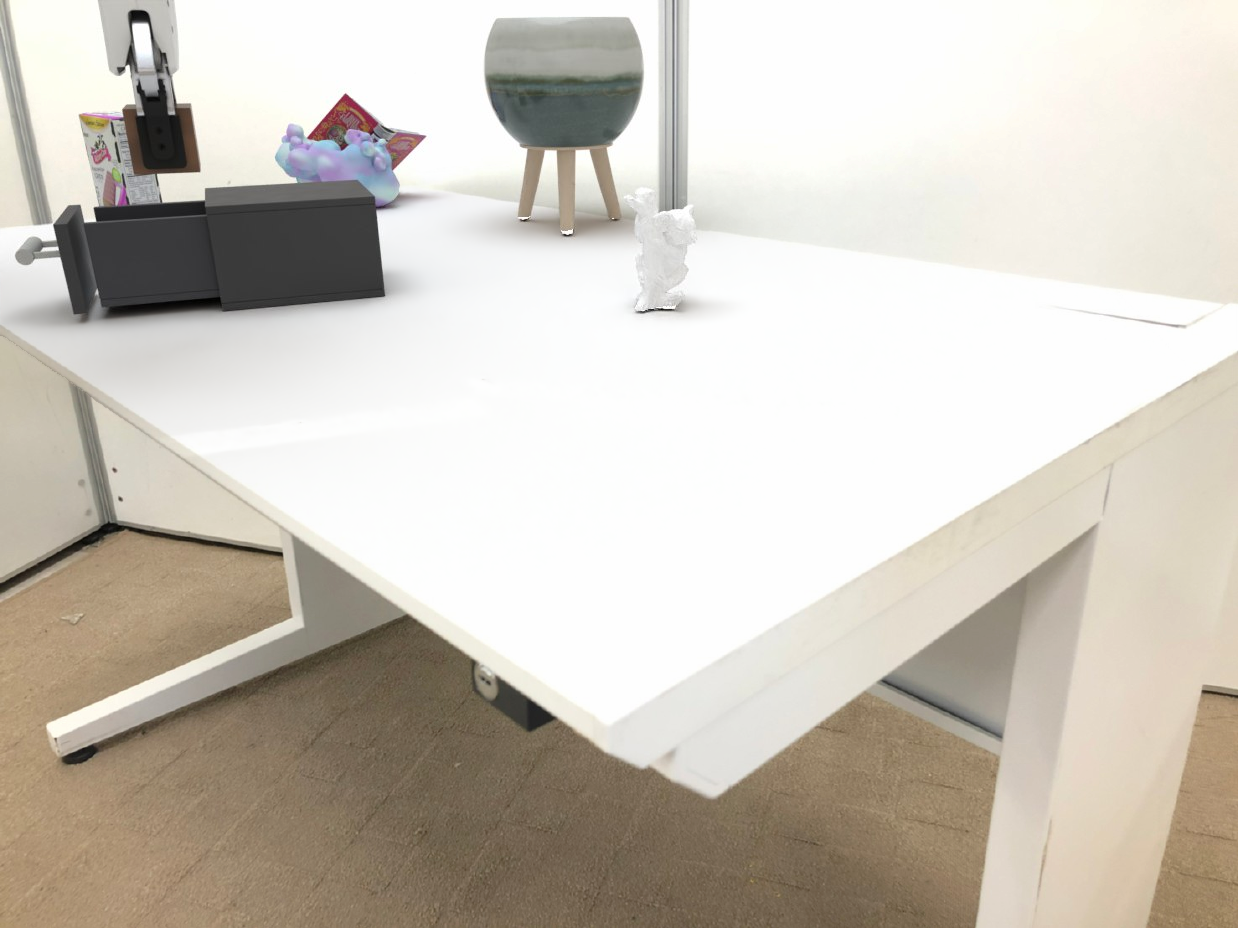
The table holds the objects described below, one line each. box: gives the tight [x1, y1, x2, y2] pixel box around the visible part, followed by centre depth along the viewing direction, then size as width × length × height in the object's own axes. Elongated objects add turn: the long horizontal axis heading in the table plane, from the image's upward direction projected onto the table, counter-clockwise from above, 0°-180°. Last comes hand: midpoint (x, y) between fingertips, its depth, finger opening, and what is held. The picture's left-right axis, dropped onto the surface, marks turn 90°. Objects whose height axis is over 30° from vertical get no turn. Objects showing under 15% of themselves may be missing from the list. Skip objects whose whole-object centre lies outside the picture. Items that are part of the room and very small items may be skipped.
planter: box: [483, 16, 645, 231], centre depth 141 cm, size 22×22×28 cm
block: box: [121, 102, 202, 175], centre depth 82 cm, size 5×5×5 cm
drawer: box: [14, 199, 220, 316], centre depth 104 cm, size 20×12×9 cm, turn 111°
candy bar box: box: [78, 110, 163, 206], centre depth 137 cm, size 11×5×16 cm, turn 46°
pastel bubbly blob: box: [274, 92, 427, 208], centre depth 163 cm, size 20×22×18 cm
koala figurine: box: [622, 186, 698, 312], centre depth 101 cm, size 8×7×12 cm
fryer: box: [204, 180, 386, 312], centre depth 109 cm, size 17×14×11 cm
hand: (166, 161), depth 83 cm, fingers closed on block, 5 cm apart
